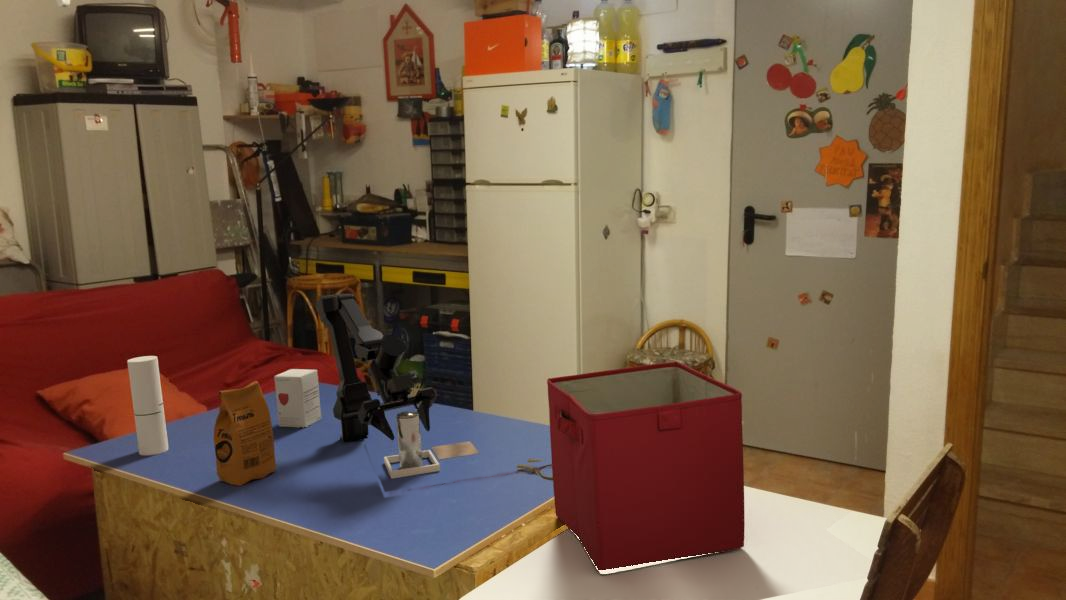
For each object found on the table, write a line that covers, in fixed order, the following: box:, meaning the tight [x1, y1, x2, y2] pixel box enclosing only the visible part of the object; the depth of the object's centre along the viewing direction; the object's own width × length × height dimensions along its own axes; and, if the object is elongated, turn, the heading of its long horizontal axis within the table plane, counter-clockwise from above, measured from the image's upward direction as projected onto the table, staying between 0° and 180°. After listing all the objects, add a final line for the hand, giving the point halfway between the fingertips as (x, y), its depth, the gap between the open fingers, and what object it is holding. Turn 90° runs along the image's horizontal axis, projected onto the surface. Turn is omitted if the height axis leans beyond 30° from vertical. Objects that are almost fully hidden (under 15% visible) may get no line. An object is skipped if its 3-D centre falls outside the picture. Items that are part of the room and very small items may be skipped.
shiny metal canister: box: [396, 410, 424, 470], centre depth 193 cm, size 5×5×13 cm
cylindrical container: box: [126, 355, 170, 456], centre depth 217 cm, size 7×7×25 cm
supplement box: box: [274, 368, 322, 429], centre depth 237 cm, size 9×9×15 cm
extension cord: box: [516, 458, 553, 481], centre depth 190 cm, size 12×16×2 cm
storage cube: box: [546, 361, 746, 570], centre depth 153 cm, size 32×28×29 cm
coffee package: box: [213, 380, 277, 487], centre depth 195 cm, size 10×12×22 cm
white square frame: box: [383, 449, 441, 479], centre depth 194 cm, size 11×11×2 cm
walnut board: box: [430, 440, 480, 460], centre depth 204 cm, size 10×10×1 cm
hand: (411, 434), depth 192 cm, fingers open, 9 cm apart
